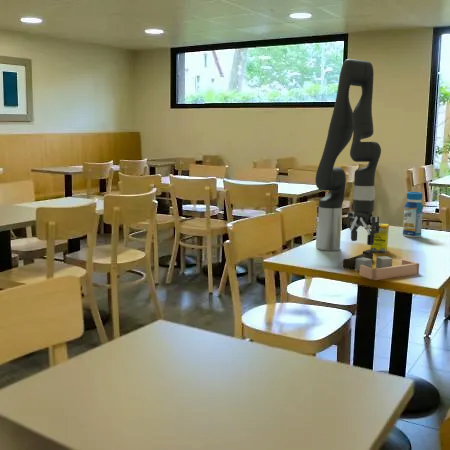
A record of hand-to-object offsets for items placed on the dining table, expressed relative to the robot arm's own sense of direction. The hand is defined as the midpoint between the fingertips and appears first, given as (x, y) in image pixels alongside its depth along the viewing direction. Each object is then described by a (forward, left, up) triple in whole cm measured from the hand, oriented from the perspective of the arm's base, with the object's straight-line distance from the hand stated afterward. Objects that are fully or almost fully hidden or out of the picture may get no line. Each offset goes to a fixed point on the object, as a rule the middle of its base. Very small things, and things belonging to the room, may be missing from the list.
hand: (362, 242), depth 206 cm
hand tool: (-1, 0, -9) cm, 9 cm away
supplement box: (-15, +22, -8) cm, 27 cm away
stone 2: (+8, +4, -8) cm, 12 cm away
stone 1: (+6, -4, -8) cm, 11 cm away
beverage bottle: (-33, +58, -8) cm, 67 cm away
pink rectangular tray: (+15, 0, -8) cm, 17 cm away
